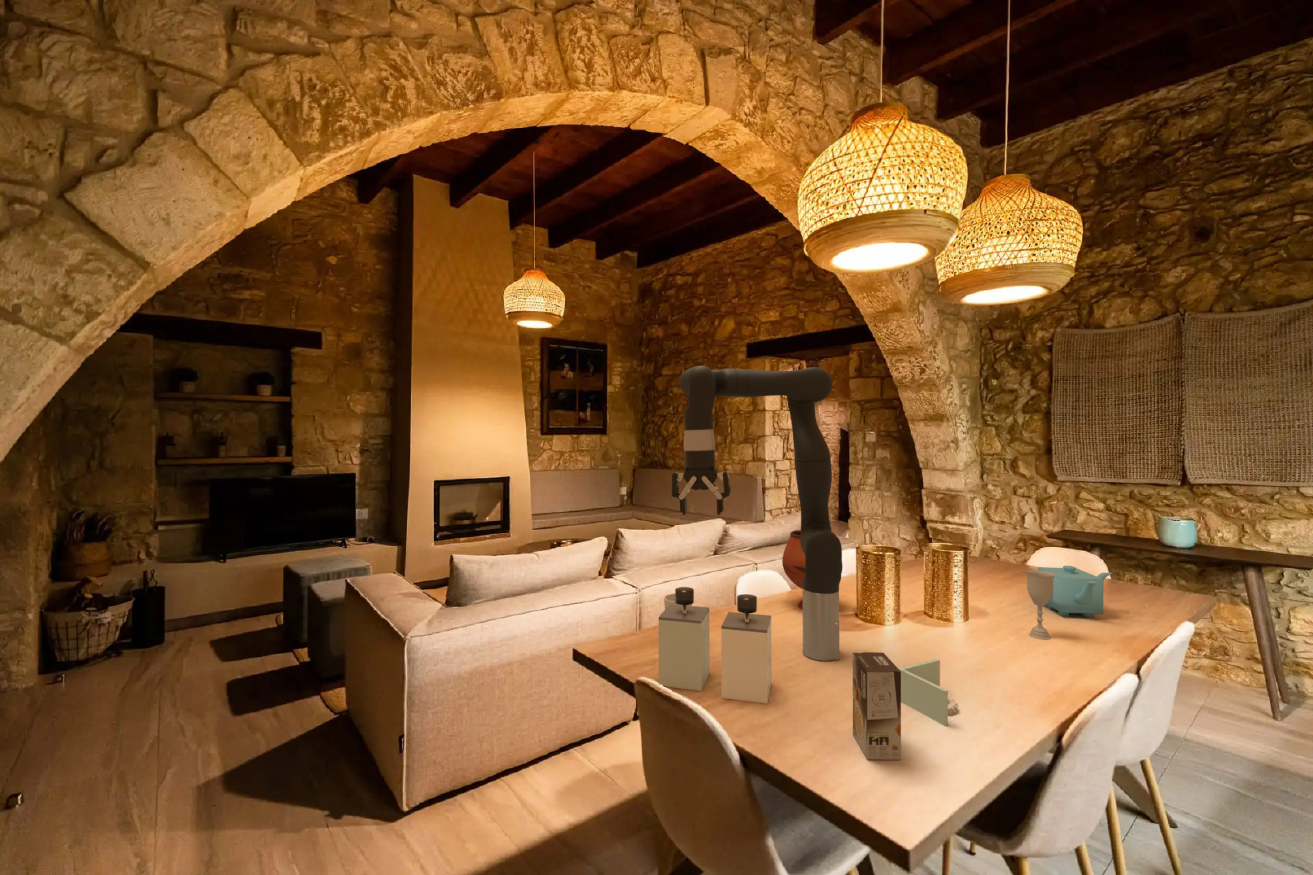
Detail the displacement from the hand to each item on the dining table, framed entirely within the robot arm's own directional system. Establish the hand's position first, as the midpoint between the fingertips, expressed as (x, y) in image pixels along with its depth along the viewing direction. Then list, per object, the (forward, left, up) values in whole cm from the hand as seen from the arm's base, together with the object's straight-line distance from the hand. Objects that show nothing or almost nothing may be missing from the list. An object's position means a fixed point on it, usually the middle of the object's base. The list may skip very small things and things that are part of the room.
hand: (701, 514), depth 140 cm
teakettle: (-105, -74, -39) cm, 134 cm away
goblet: (-25, -57, -39) cm, 74 cm away
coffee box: (-38, +24, -39) cm, 59 cm away
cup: (+11, -18, -39) cm, 44 cm away
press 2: (-12, +8, -39) cm, 41 cm away
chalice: (-88, -48, -39) cm, 107 cm away
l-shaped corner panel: (-53, +4, -39) cm, 66 cm away
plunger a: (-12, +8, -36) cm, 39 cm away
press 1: (+3, +6, -39) cm, 39 cm away
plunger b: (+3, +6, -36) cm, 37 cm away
